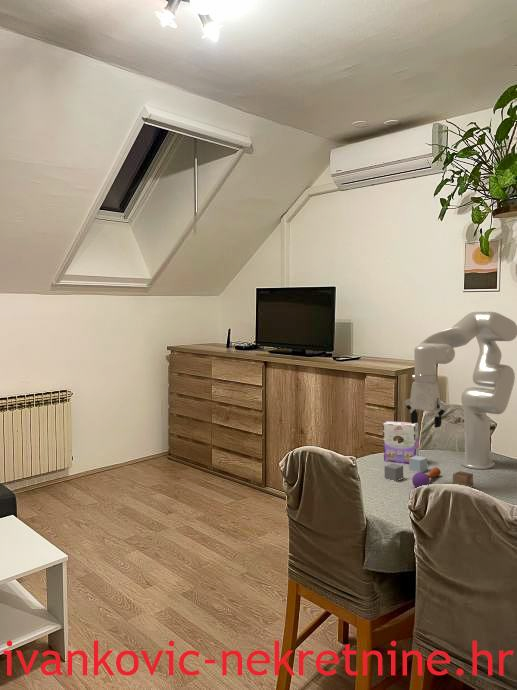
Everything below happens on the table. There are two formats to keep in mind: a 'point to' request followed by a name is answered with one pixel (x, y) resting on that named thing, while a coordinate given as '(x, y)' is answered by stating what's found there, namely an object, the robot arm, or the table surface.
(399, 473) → the charcoal block
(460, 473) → the walnut block
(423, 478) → the kendama
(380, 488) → the table surface
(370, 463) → the table surface
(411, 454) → the candy box
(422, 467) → the dusty blue block
